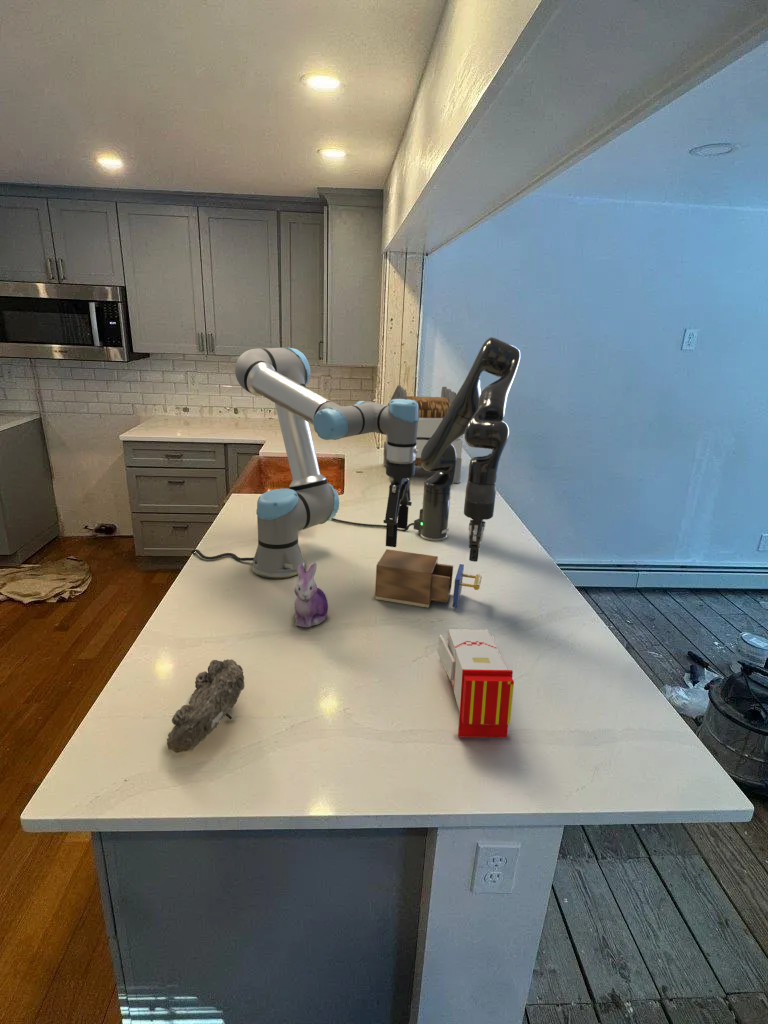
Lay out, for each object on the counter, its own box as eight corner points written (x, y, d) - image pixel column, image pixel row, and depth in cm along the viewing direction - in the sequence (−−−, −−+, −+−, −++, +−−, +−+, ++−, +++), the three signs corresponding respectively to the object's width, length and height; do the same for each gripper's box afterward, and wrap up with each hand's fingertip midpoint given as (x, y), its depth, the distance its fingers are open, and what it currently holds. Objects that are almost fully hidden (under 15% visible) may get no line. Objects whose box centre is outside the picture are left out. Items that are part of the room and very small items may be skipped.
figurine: (299, 632, 137) (299, 576, 132) (286, 613, 145) (285, 559, 140) (336, 624, 141) (336, 570, 136) (320, 605, 149) (321, 553, 144)
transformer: (382, 463, 289) (386, 382, 275) (445, 464, 293) (451, 384, 279) (390, 482, 257) (394, 392, 243) (460, 483, 261) (468, 394, 247)
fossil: (192, 660, 117) (244, 628, 112) (224, 691, 120) (276, 661, 115) (142, 746, 98) (202, 712, 93) (182, 779, 101) (242, 748, 96)
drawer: (479, 593, 158) (482, 567, 155) (476, 610, 149) (479, 583, 146) (414, 583, 162) (416, 557, 159) (407, 599, 153) (408, 572, 150)
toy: (488, 613, 130) (523, 677, 101) (484, 667, 133) (517, 744, 104) (435, 612, 130) (455, 676, 101) (432, 666, 133) (451, 743, 103)
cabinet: (435, 588, 162) (438, 556, 158) (428, 607, 151) (431, 573, 148) (384, 581, 165) (386, 549, 161) (374, 599, 155) (376, 565, 151)
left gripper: (405, 474, 134) (400, 556, 141) (424, 451, 157) (419, 523, 164) (374, 471, 135) (371, 552, 143) (397, 448, 158) (393, 519, 165)
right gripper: (493, 508, 137) (485, 572, 143) (496, 492, 149) (489, 552, 155) (462, 504, 139) (456, 568, 145) (468, 489, 151) (462, 548, 157)
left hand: (396, 536), depth 153 cm, fingers open, 13 cm apart
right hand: (473, 560), depth 150 cm, fingers closed
